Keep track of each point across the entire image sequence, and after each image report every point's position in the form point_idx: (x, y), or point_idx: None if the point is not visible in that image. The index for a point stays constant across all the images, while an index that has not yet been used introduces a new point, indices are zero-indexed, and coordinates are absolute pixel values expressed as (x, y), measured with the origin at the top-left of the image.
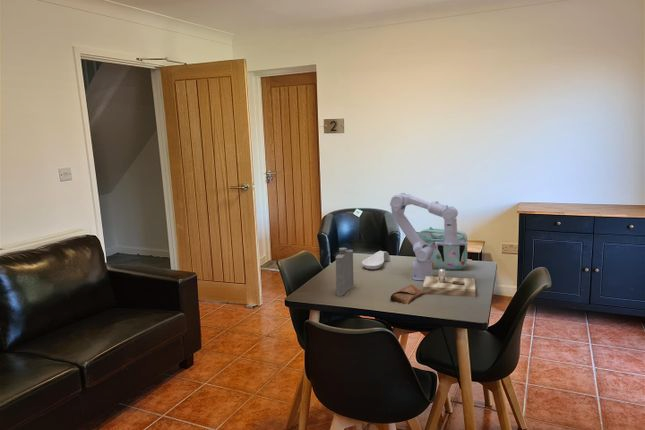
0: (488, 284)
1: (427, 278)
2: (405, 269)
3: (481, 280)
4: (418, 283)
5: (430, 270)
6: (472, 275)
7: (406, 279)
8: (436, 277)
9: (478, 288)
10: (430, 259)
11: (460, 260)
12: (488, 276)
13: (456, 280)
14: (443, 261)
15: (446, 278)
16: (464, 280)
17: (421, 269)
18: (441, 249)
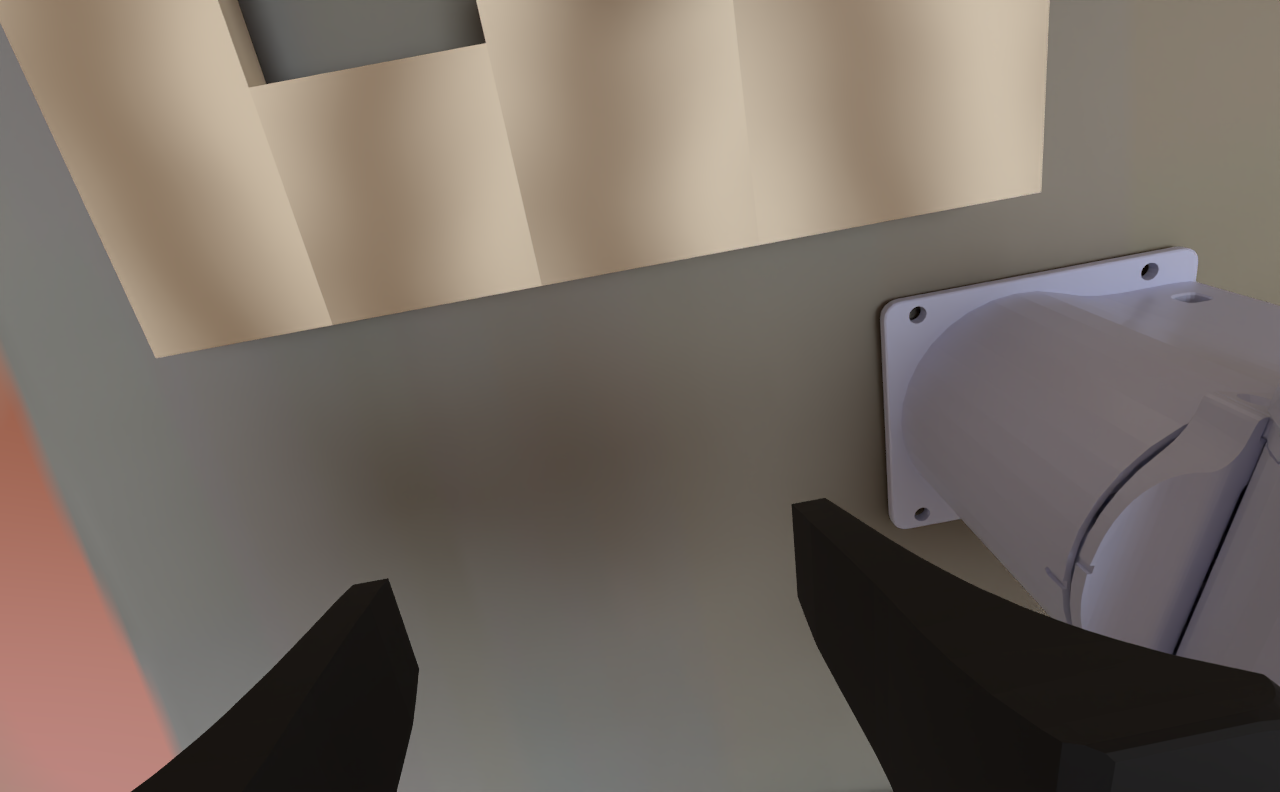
0: (50, 449)
1: (998, 44)
2: None
3: (218, 587)
4: (1086, 99)
5: (991, 414)
6: None
7: (1274, 248)
8: (833, 184)
9: None
10: (1129, 602)
11: (342, 599)
12: None
13: (423, 117)
14: (805, 504)
15: (640, 188)
16: (279, 176)
17: (1181, 341)
18: (1102, 707)
